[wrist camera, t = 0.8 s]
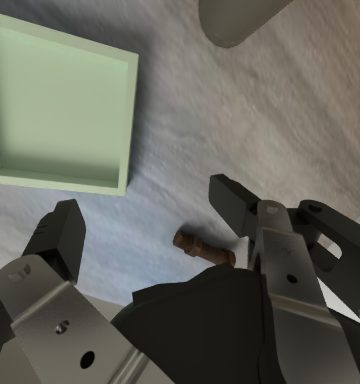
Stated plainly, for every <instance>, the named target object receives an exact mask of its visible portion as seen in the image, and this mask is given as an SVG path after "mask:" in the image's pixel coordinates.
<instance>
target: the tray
mask: <svg viewBox="0 0 360 384" xmlns="http://www.w3.org/2000/svg"><path fill="white" fill-rule="evenodd" d="M138 72H139V55H138V54H135V53H132V52H128V51H125V50H121V49H118V48H115V47H111V46H108V45H104V44H101V43H98V42H94V41H91V40H87V39H84V38H81V37H77V36H74V35H70V34H67V33H64V32H60V31H57V30H53V29H50V28H47V27H43V26H40V25H37V24H33V23H30V22H26V21H23V20H20V19H16V18H13V17H9V16H6V15H3V14H0V184H10V185H20V186H30V187H40V188H50V189H60V190H70V191H79V192H89V193H99V194H109V195H119V196H125V194H126V190H127V184H128V174H129V163H130V153H131V143H132V133H133V123H134V113H135V102H136V92H137V82H138Z"/></svg>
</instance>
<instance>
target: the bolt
mask: <svg viewBox="0 0 360 384" xmlns="http://www.w3.org/2000/svg"><path fill="white" fill-rule="evenodd" d="M173 245H175V246H176V247H179V248H181V249H183V250H184V252H185V254H188V255H190V256H192V257H195V256H199V257H201V258H203V259H206V260H208V261H210V262H212V263H214V264H216V265H219V264H222V263H225V262H228V261H230V263H231V264H232V266H233V267H234V266H235V263H236V257H235V254H234V252H232V251H230V250H227V249H223V250H222V251H221V250H218V249H216V248H214V247H211V246H210V245H207V244H205V243H203V242H202V239H201V238H200V237H198V236H195V235H191V236H189V235H186V234H184V233H182V232H177V234H176V235H175V237H174V239H173Z"/></svg>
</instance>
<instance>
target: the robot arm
mask: <svg viewBox="0 0 360 384" xmlns="http://www.w3.org/2000/svg"><path fill="white" fill-rule="evenodd" d="M292 1H293V0H199V17H200V22H201V25H202V28H203V30H204V32H205V34H206V36H207V37H208V38H209V40H211V41H212V42H213V43H214V44H216V45H218V46H220V47H224V48H230V47H234V46H236V45H238V44H240V43H241V42H242V41H244V40H245V39H246V38H247V37H249V36H250V35H251V34H252V33H254V32H255V31H256V30H257V29H259V28H260V27H261V26H262V25H264V24H265V23H266V22H267V21H268V20H270V19H271V18H272V17H273V16H275V15H276V14H277V13H278V12H279V11H281V10H282V9H283V8H284V7H286V6H287V5H288V4H289V3H291V2H292ZM209 202H210V204H211V205H212V206H213V208H214V209H215V210H216V211H217V212H218V214H219V215H220V216H221V217H222V218H223V219H224V221H225V222H226V223H227V224H228V225H229V226H230V228H231V229H232V230H233V231H234V232H235V234H236V235H237V236H238V237H239V238H241V237H245V236H248V237H249V239H248V265H247V269H242V268H234V267H233V266H232V264H231V263H230V261H228V262H225V263H222V264H219V265H216V266H213V267H209V268H207V269H206V270H204V271H203V272H201V273H200V274H198V275H197V276H195V277H194V278H192V279H191V280H189V281H187V282H178V283H164V284H157V285H154V286H151V287H148V288H145V289H142V290H138V291H135V292H132V296H133V302H132V303H130V304H128V305H127V306H126V307H125V308H123V309H122V310H121V311H120V312H119V313H118V314H117V315H116V316H115V317H114V318H113V319H112V320H111V322H109V321H108V320H107V319H106V318H105V317H104V316H103V315H102V314H101V313H100V312H99V311H98V310H97V309H96V308H95V307H94V306H93V305H92V304H91V303H90V302H89V301H88V300H87V299H86V298H85V297H84V296H83V295H82V294H81V293H80V292H79V291H78V290H77V289H76V288H75V287H74V286H73V285H76V284H77V281H78V275H79V269H80V263H81V257H82V252H83V246H84V240H85V234H86V226H85V221H84V219H83V216H82V214H81V211H80V208H79V206H78V203H77V201H76V200H75V199H70V200H64V201H59V202H58V203H57V205H56V207H55V209H54V211H53V212H50V213H48V214H47V215H45V216H44V217H43V218H42V219H41V220H40V222H39V224H38V225H37V229H35V231H34V233H33V235H32V237H31V239H30V241H29V243H28V244H27V246H26V248H25V250H24V252H23V254H22V256H21V257H20V258H17V259H15V260H13V261H11V262H10V263H8V264H7V265H5V266H4V267H3V268H2V269H1V270H0V352H1V349H2V346H3V344H4V343H6V342H7V341H9V340H11V339H13V338H14V337H17V339H18V341H19V343H20V344H21V346H22V348H23V350H24V352H25V354H26V355H27V357H28V359H29V360H30V362H31V364H32V366H33V368H34V370H35V372H36V373H37V375H38V377H39V379H40V381H41V383H42V384H360V323H359V322H357V321H355V320H353V319H351V318H349V317H347V316H345V315H343V314H341V313H339V312H336V311H335V310H333V309H331V308H328V307H327V305H326V302H325V299H324V296H323V293H322V291H321V288H320V285H319V282H318V279H317V277H318V278H319V279H320V280H321V281H322V282H323V283H324V284H325V285H326V286H327V287H328V288H329V289H330V290H331V291H332V292H333V293H334V294H335V295H337V296H338V298H339V299H340V300H342V301H343V303H345V304H346V305H347V306H348V307H349V308H350V309H351V310H352V311H353V312H354V313H355V314H356V315H357V316H358V317H359V318H360V224H358V223H356V222H355V221H353V220H351V219H349V218H348V217H346V216H344V215H343V214H341V213H339V212H338V211H336V210H334V209H332V208H331V207H329V206H327V205H326V204H324V203H321V202H318V201H315V200H302V201H301V202H300V204H299V206H298V208H286V207H285V206H284V205H282V204H281V203H279V202H276V201H273V200H261V199H260V198H258V197H257V196H256V195H254V194H253V193H252V192H250V191H249V190H248V189H246V188H245V187H243V186H242V185H241V184H240V183H238V182H236V181H234V180H231V179H229V178H228V177H227V176H225V175H224V174H217V175H212V176H211V177H210V183H209ZM321 233H322V234H324V235H325V236H326V237H328V238H329V239H330V240H332V241H333V242H335V243H336V244H337V245H338V246H339V247H340V249H341V251H342V256H341V257H340V259H338V258H337V257H335V256H334V255H333V254H332V253H330V252H329V251H328V250H327V249H325V248H324V247H323V246H322V245H320V244H319V243H318V242H317V241H318V239H319V237H320V235H321Z"/></svg>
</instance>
